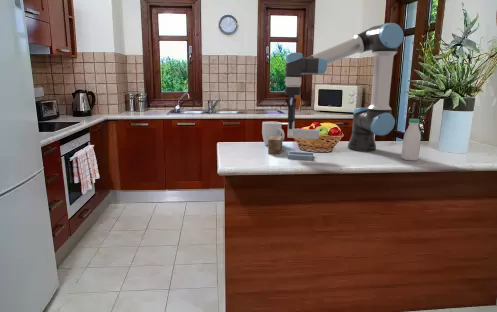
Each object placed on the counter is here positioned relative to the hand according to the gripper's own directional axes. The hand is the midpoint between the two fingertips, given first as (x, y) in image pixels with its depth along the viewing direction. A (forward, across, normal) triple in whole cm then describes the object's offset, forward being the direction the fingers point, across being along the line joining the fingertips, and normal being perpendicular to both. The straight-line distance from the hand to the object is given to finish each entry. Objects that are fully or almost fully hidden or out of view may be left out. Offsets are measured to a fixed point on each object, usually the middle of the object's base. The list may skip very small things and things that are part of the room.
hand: (290, 134), depth 174 cm
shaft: (+1, 0, +6) cm, 6 cm away
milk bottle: (+11, -11, +58) cm, 60 cm away
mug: (+11, -28, -13) cm, 33 cm away
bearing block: (+11, -10, -9) cm, 17 cm away
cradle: (+11, 0, +5) cm, 12 cm away
